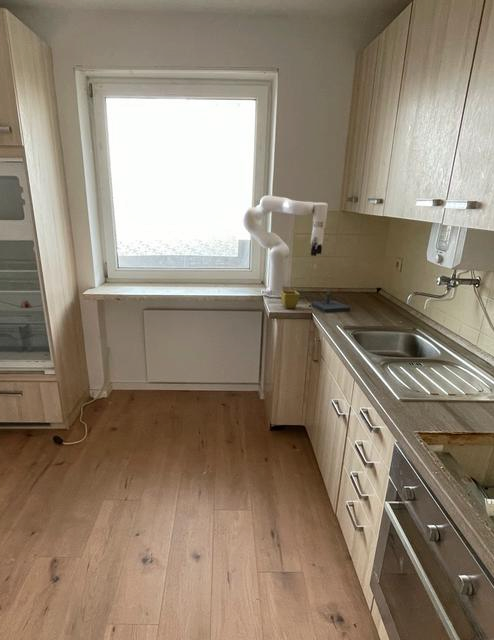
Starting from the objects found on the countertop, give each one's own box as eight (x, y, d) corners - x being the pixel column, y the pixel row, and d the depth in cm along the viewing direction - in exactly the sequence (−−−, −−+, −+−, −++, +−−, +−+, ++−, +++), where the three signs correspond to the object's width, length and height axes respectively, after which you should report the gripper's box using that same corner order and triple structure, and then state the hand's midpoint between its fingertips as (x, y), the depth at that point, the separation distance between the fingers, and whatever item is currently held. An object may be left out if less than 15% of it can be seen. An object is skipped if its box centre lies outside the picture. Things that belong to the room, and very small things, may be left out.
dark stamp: (324, 308, 243) (326, 294, 240) (319, 305, 249) (320, 292, 246) (334, 307, 245) (336, 293, 242) (329, 304, 250) (330, 291, 247)
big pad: (324, 312, 234) (325, 309, 233) (311, 305, 248) (311, 302, 247) (349, 310, 238) (350, 307, 237) (335, 303, 252) (335, 300, 252)
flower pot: (293, 305, 248) (295, 290, 245) (298, 309, 240) (299, 293, 237) (279, 305, 247) (280, 290, 243) (284, 309, 239) (285, 294, 235)
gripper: (317, 223, 253) (314, 252, 259) (308, 225, 239) (305, 255, 245) (329, 224, 250) (326, 253, 256) (320, 226, 236) (317, 256, 242)
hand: (316, 254), depth 251 cm, fingers open, 9 cm apart
